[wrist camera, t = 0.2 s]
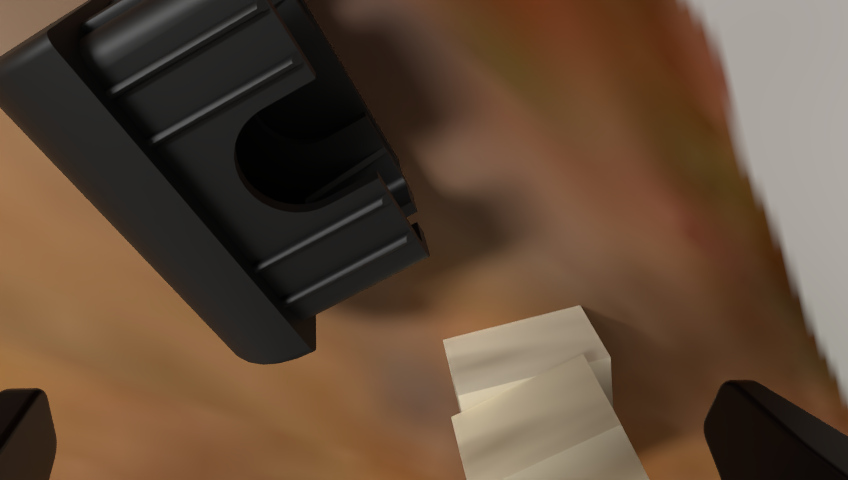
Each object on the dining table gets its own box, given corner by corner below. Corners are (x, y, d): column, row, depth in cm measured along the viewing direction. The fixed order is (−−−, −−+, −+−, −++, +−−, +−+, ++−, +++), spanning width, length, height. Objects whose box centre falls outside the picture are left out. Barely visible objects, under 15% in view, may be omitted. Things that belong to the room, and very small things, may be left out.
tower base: (586, 398, 31) (615, 457, 28) (464, 430, 30) (480, 492, 27) (578, 302, 27) (610, 356, 24) (441, 336, 27) (457, 395, 24)
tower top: (626, 437, 27) (664, 509, 24) (506, 492, 28) (530, 569, 25) (583, 353, 24) (621, 424, 21) (451, 417, 25) (470, 494, 22)
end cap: (39, 29, 19) (-80, 109, 13) (245, -98, 18) (214, -73, 12) (244, 270, 24) (223, 402, 18) (411, 180, 23) (444, 290, 17)
